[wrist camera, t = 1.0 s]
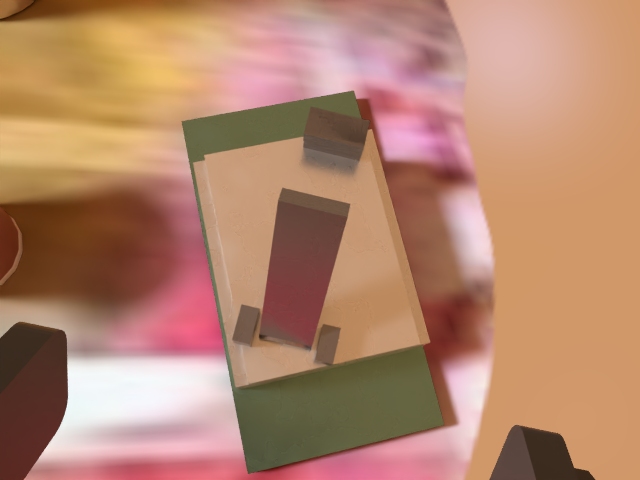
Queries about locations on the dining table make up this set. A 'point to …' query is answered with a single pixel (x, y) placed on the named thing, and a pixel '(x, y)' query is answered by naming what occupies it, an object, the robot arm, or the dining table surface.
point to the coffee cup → (9, 246)
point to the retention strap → (301, 266)
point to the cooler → (343, 292)
